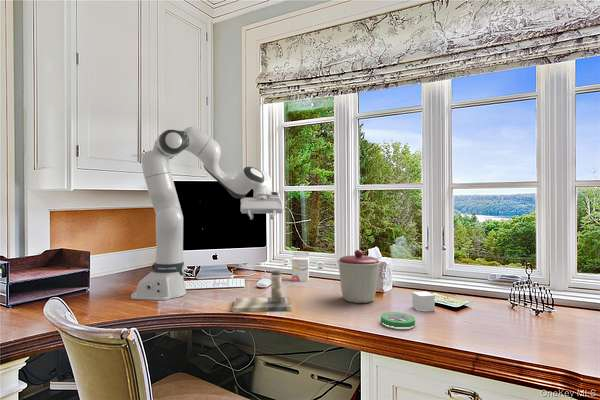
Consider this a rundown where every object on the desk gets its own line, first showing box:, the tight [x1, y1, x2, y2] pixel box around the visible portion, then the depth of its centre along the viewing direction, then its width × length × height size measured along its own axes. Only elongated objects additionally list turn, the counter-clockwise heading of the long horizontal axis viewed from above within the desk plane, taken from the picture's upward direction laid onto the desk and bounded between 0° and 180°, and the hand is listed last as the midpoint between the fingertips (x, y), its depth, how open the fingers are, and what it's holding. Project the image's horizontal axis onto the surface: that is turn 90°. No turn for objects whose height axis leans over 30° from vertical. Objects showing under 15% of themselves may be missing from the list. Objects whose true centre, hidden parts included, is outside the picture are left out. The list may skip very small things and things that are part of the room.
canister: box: [336, 249, 381, 304], centre depth 152 cm, size 18×18×21 cm
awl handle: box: [270, 270, 283, 303], centre depth 143 cm, size 4×4×12 cm
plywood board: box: [232, 296, 293, 313], centre depth 143 cm, size 22×14×2 cm, turn 95°
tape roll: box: [380, 311, 416, 327], centre depth 123 cm, size 11×11×3 cm
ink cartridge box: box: [291, 251, 310, 282], centre depth 189 cm, size 9×5×15 cm, turn 84°
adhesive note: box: [411, 291, 436, 312], centre depth 140 cm, size 6×6×6 cm
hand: (261, 218), depth 167 cm, fingers open, 8 cm apart
